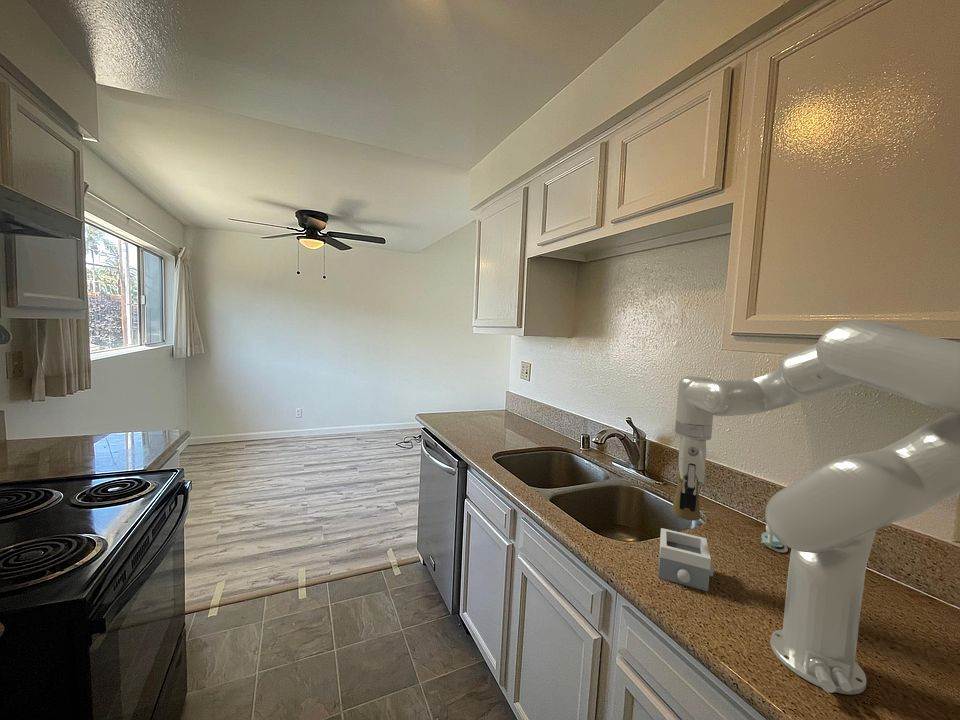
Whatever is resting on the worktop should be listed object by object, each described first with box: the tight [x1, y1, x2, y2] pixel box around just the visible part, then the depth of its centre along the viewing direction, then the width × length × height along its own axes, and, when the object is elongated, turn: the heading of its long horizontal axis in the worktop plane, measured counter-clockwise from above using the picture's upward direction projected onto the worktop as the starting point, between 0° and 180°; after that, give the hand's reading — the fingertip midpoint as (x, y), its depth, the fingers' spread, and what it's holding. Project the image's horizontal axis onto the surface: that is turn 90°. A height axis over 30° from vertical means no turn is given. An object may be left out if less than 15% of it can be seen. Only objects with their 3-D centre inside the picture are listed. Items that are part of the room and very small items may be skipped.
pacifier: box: [760, 524, 789, 553], centre depth 106 cm, size 7×6×6 cm
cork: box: [671, 468, 701, 522], centre depth 91 cm, size 6×6×11 cm
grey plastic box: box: [658, 527, 714, 592], centre depth 91 cm, size 11×11×8 cm
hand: (686, 505), depth 91 cm, fingers closed on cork, 3 cm apart
